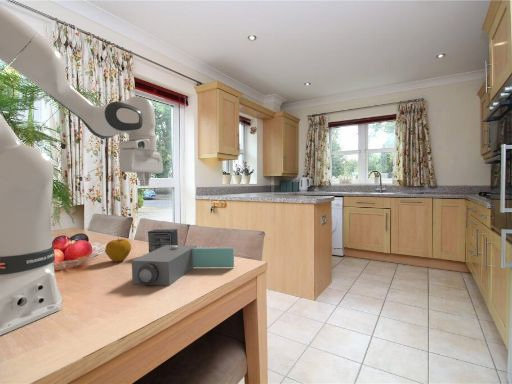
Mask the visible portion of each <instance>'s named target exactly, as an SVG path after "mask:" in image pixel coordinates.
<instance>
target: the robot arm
mask: <svg viewBox="0 0 512 384" xmlns="http://www.w3.org/2000/svg"><path fill="white" fill-rule="evenodd" d="M0 61H2V62H3V63H5V64H6V65H7V66H9V67H10V68H12V69H13V70H15V71H16V72H18V73H19V74H21V75H22V76H23V77H24V78H26V79H28V80H29V81H31V82H32V84H33V83H34V85H36V86H37V87H38V88H40V90H42V91H44V93H46V94H47V95H48V96H49V97H51V98H52V99H53V100H54V101H56V102H58V104H60V105H62V106H63V107H64V108H65V109H66V110H67V111H69V112H70V113H72V114H73V115H74V116H75V117H77V118H78V119H79V120H80V121H81V122H82V123H83V124H84V125H85V127H86V129H87V130H88V131H89V132H90V133H91V134H92V135H94V136H95V137H97V138H100V139H107V140H108V139H111V138H113V137H115V136H118V135H120V134H123V133H124V134H127V135H128V139H127V140H124V141H120V142H118V148H119V153H118V158H119V159H118V162H119V168H120V170H121V172H123V173H136V176H137V179H138V181H139V186H140V187H149V186H150V181H151V177H152V174H153V175H154V174H163V172H164V164H163V163H164V162H163V157H162V154H161V153H160V151H159V150H158V149H157V148H158V147H157V136H156V132H155V131H156V125H157V124H156V115H155V114H156V113H155V112H156V111H155V108H154V105H153V103H152V101H150V100H149V99H147V98H145V97H141V96H131V97H129V98H128V99H127V98H126V100H122V101H121V100H120V101H111V102H108V103H106V104H104V105H102V106H98V105H96V104H93V103H92V102H91V101H89V100H88V99H87V98H86V97H85V96H84V95H83V94H81V93H80V92H79V91H77V89H76V88H74V87H73V86H72V85H71V83H70V81H69V80H68V78H67V75H66V63H65V60H64V57H63V55H62V53H61V52H60V51H59V50H58V49H57V47H55V45H53V44H52V42H50V41H49V39H47V38H46V37H44V35H41V34H40V33H39V31H37V30H36V29H35V28H33V27H32V26H30V25H29V24H28V23H26V22H25V21H23V20H22V19H20V18H19V17H18V16H16V15H15V14H13V13H12V12H11V11H9V10H8V9H5V8H4V7H2V6H0ZM54 170H55V169H54V164H53V162H52V160H51V159H50V157H49V155H47V154H46V153H45V152H43V151H42V150H40V149H39V148H37V147H35V146H31V145H26V144H24V143H23V142H22V141H21V139H20V138H19V137H18V136H17V134H16V133H15V132H14V130H13V129H12V127H11V126H10V125H9V124H8V122H7V121H6V119H5V117H4V115H3V114H2V113H0V336H2V335H5V334H7V333H10V332H11V331H14V330H16V329H19V328H21V327H23V326H26V325H28V324H30V323H33V322H35V321H37V320H39V319H42V318H45V317H47V316H49V315H51V314H53V313H55V312H58V311H60V310H62V302H63V301H64V299H63V297H62V294H61V292H60V288H59V285H58V282H57V277H56V274H55V273H56V272H55V267H54V262H55V261H56V260H55V259H56V257H55V248H54V246H53V243H52V242H53V240H52V222H51V212H52V203H53V193H54V192H53V191H54V190H53V188H54Z"/></svg>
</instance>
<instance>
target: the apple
mask: <svg viewBox="0 0 512 384" xmlns="http://www.w3.org/2000/svg"><path fill="white" fill-rule="evenodd" d="M131 250H132V245H131V243H130V241H129V240H128V239H126V238H118V239H113V240H110V241H109V242H107V244H106V246H105V249H104V251H105V253H106V255H107V257H108V258H109V259H110V260H111V261H112V262H115V263H117V262H118V263H119V262H123V261H125V259H127V257H128V256H129V254H130V252H131Z"/></svg>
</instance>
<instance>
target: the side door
mask: <svg viewBox="0 0 512 384" xmlns="http://www.w3.org/2000/svg"><path fill="white" fill-rule="evenodd" d="M192 261H193V268H192V269H195V268H196V269H197V268H198V269H199V268H204V269H205V268H235V248H234V247H197V248H192Z"/></svg>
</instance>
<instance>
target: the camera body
mask: <svg viewBox="0 0 512 384" xmlns="http://www.w3.org/2000/svg"><path fill="white" fill-rule="evenodd" d="M192 248H198V247H197V245H182V244H178V245H165V246H163V247H161V248H158V249H156V250H154V251H152V252H150V253H149V252H148V253H144V254H142V255H141V256H139V257H136V258H135V259H132V260H131V276H132V277H131V278H132V280H131V281H132V284H133V285H145V286H150V285H152V286H168V287H169V286H171V285H173V284H174V283H175V282H176V281H178V280H179V279H180V278H182V277H183V276H184V275H186V274H187V273H188V272H190V271H191V270H192V269H194V268H193V261H192Z"/></svg>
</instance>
